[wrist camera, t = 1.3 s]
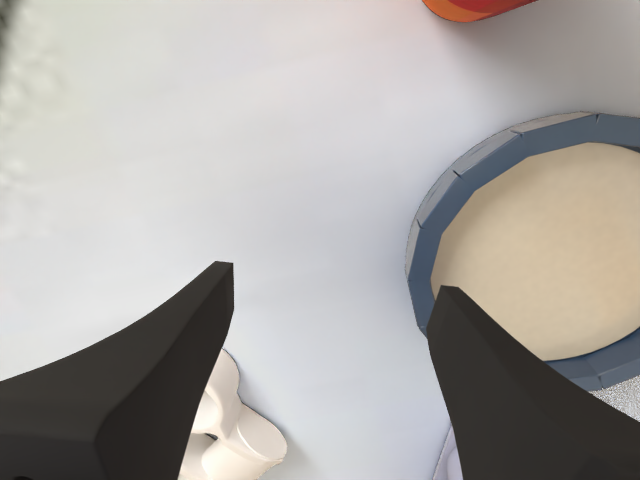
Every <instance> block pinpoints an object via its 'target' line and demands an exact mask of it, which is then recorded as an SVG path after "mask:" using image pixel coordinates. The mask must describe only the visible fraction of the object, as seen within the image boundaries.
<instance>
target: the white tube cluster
mask: <svg viewBox="0 0 640 480" xmlns="http://www.w3.org/2000/svg"><path fill="white" fill-rule="evenodd" d="M238 386H239V372H238V369H237V366H236V364H235V362H234V361H233V359H232V358H231V357H230V355H229V354H228V353H227V352H226V351H224V350H223V349H221V351H220V354H219V356H218V359H217V361H216V363H215V366H214V368H213V371H212V373H211V376H210V378H209V380H208V383H207V385H206V388H205V391H204V393H203V395H202V398H201V401H200V404H199V407H198V410H197V413H196V417H195V420H194V423H193V427H192V430H191V433H190V437H189V440H188V444H187V448H186V451H185V455H184V458H183V462H182V465H181V469H180V473H179V476H178V480H256V479H257V478H259V477H260V476H261V475H262V474H263V473H265V472H266V471H267V470H268V469H270V468H271V467H272V466H273V465H275V464H280V463H281V462H282V461H283V458H284V456H285V455H286V453H287V443H286V441H285V439H284V437H283V436H282V434H281V433H280V431H279V430H278V429H277V428H276V427H275V426H274V425H273V424H272V423H271V422H269V421H268V420H266V419H265V418H263V417H262V416H261V415H259V414H258V413H256V412H255V411H253V410H252V409H250V408H249V407H247V406H246V405H244V404H243V403H242V402H241V400H240V398H239V396H238V394H237V392H236V391H237V389H238ZM205 433H211V434H214V435H216V436H217V437H218V439H217V440H214V439H213V438H211V437H209V436H208V435H206V434H205Z"/></svg>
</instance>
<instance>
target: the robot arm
mask: <svg viewBox="0 0 640 480" xmlns="http://www.w3.org/2000/svg"><path fill="white" fill-rule="evenodd" d="M233 311H234V276H233V263H229V262H219V261H215V262H214V263H212V264H211V265H210V266H209V267H208V268H206V269H205V270H204V271H203V272H202V273H201V274H199V275H198V276H197V277H196V278H195V279H194V280H192V281H191V282H190V283H189V284H188V285H186V286H185V287H184V288H183V289H181V290H180V291H179V292H178V293H176V294H175V295H174V296H173V297H171V298H170V299H169V300H167V301H166V302H164V303H163V304H162V305H160V306H159V307H157V308H156V309H155V310H153V311H152V312H150V313H149V314H147V315H146V316H144V317H143V318H141V319H139V320H138V321H136V322H134V323H133V324H131V325H129V326H128V327H126V328H124V329H122V330H121V331H119V332H117V333H115V334H113V335H111V336H109V337H107V338H105V339H103V340H101V341H99V342H97V343H95V344H93V345H91V346H89V347H87V348H85V349H83V350H81V351H78V352H76V353H74V354H72V355H69V356H67V357H65V358H62V359H60V360H57V361H55V362H53V363H50V364H47V365H45V366H42V367H40V368H37V369H34V370H31V371H29V372H26V373H23V374H20V375H17V376H15V377H12V378H9V379H6V380H3V381H0V480H178V476H179V473H180V469H181V465H182V462H183V458H184V455H185V451H186V448H187V444H188V440H189V437H190V433H191V430H192V427H193V423H194V420H195V417H196V413H197V410H198V407H199V404H200V401H201V398H202V395H203V393H204V390H205V388H206V385H207V383H208V380H209V378H210V376H211V373H212V371H213V368H214V366H215V363H216V361H217V359H218V356H219V354H220V351H221V349H222V346H223V344H224V341H225V339H226V336H227V334H228V330H229V326H230V323H231V319H232V315H233ZM426 332H427V339H428V345H429V350H430V355H431V359H432V362H433V365H434V369H435V372H436V375H437V378H438V381H439V385H440V388H441V391H442V394H443V397H444V400H445V403H446V407H447V410H448V413H449V416H450V420H451V423H452V425H451V427H450V430H449V433H448V436H447V439H446V442H445V445H444V447H443V450H442V453H441V456H440V459H439V462H438V465H437V467H436V470H435V473H434V476H433V479H432V480H640V422H639V421H637V420H635V419H633V418H631V417H630V416H628V415H626V414H624V413H623V412H621V411H619V410H617V409H615V408H614V407H612V406H610V405H608V404H607V403H605V402H603V401H602V400H600V399H598V398H597V397H595V396H594V395H592V394H590V393H589V392H587V391H586V390H584V389H583V388H581V387H579V386H578V385H576V384H575V383H573V382H572V381H570V380H569V379H567V378H566V377H564V376H563V375H561V374H560V373H559V372H557V371H556V370H554V369H553V368H552V367H550V366H549V365H548V364H546V363H545V362H544V361H542V360H541V359H539V358H538V357H537V356H536V355H534V354H533V353H532V352H531V351H529V350H528V349H527V348H526V347H524V346H523V345H522V344H521V343H520V342H518V341H517V340H516V339H515V338H514V337H513V336H511V335H510V334H509V333H508V332H507V331H506V330H505V329H503V328H502V327H501V326H500V325H499V324H498V323H497V322H496V321H495V320H494V319H493V318H492V317H490V316H489V315H488V314H487V313H486V312H485V311H484V310H483V309H482V308H481V307H480V306H479V305H478V304H477V303H476V302H475V301H474V300H473V299H471V298H470V297H469V296H468V295H467V294H466V293H465V292H464V291H463V290H462V289H460V288H459V287H456V286H446V285H441V286H440V289H439V292H438V295H437V298H436V301H435V304H434V307H433V310H432V312H431V315H430V318H429V321H428V324H427V327H426Z"/></svg>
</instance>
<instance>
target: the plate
mask: <svg viewBox="0 0 640 480" xmlns="http://www.w3.org/2000/svg"><path fill="white" fill-rule="evenodd" d="M405 273H406V277H407V282H408V286H409V291H410V295H411V299H412V304H413V308H414V313H415V317H416V321H417V326H418V327H419V329H420V331H421V332H422V333H423V334H424V335H425V337H426V338H427V332H426V327H427V324H428V321H429V318H430V315H431V312H432V310H433V307H434V304H435V301H436V298H437V295H438V292H439V289H440V286H441V285H446V286H456V287H459V288H460V289H462V290H463V291H464V292H465V293H466V294H467V295H468V296H469V297H470V298H471V299H473V300H474V301H475V302H476V303H477V304H478V305H479V306H480V307H481V308H482V309H483V310H484V311H485V312H486V313H487V314H488V315H489V316H490V317H492V318H493V319H494V320H495V321H496V322H497V323H498V324H499V325H500V326H501V327H502V328H503V329H505V330H506V331H507V332H508V333H509V334H510V335H511V336H513V337H514V338H515V339H516V340H517V341H518V342H520V343H521V344H522V345H523V346H524V347H526V348H527V349H528V350H529V351H531V352H532V353H533V354H534V355H536V356H537V357H538V358H539V359H541V360H542V361H544V362H545V363H546V364H548V365H549V366H550V367H552V368H553V369H554V370H556V371H557V372H559V373H560V374H561V375H563V376H564V377H566V378H567V379H569V380H570V381H572V382H573V383H575V384H576V385H578V386H579V387H581V388H583V389H584V390H586V391H587V392H589V391H597V390H602V388H603V389H606V388H609V387H611V386H614V385H616V384H619V383H621V382H624V381H626V380H629V379H631V378H634V377H636V376H639V375H640V118H637V117H629V116H621V115H612V114H604V113H594V112H584V111H581V112H574V113H570V114H557V115H552V116H547V117H542V118H537V119H533V120H530V121H527V122H524V123H521V124H518V125H515V126H512V127H510V128H508V129H506V130H504V131H501V132H499V133H497V134H495V135H493V136H491V137H489V138H488V139H486V140H484V141H483V142H481V143H480V144H478V145H476V146H475V147H473V148H472V149H471V150H469V151H468V152H467V153H465V154H464V155H463V156H462V157H460V158H459V159H458V160H456V161H455V162H454V163H453V164H452V165H451V166H450V167H449V168H448V169H447V170H446V171H445V172H444V173H443V174H442V175H441V177H440V178H439V179H438V180H437V182H436V183H435V184H434V185H433V187H432V188H431V189H430V191H429V192H428V194H427V195H426V197H425V199H424V200H423V202H422V204H421V205H420V207H419V209H418V212H417V214H416V216H415V218H414V221H413V223H412V227H411V230H410V233H409V237H408V242H407V249H406V264H405Z"/></svg>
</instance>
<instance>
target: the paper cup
mask: <svg viewBox="0 0 640 480" xmlns="http://www.w3.org/2000/svg"><path fill="white" fill-rule="evenodd" d="M422 1H423V2H424V3H425V5H426V6H427V7H428V8H429V9H430V10H431V11H432V12H434V13H435V14H437V15H438V16H440V17H442V18H445V19H447V20H451V21H456V22H473V21H478V20H482V19H486V18H489V17H493V16H496V15H499V14H501V13H504V12H507V11H510V10H513V9H516V8H518V7H521V6H524V5H526V4H529V3H532V2H535V1H537V0H422Z"/></svg>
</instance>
